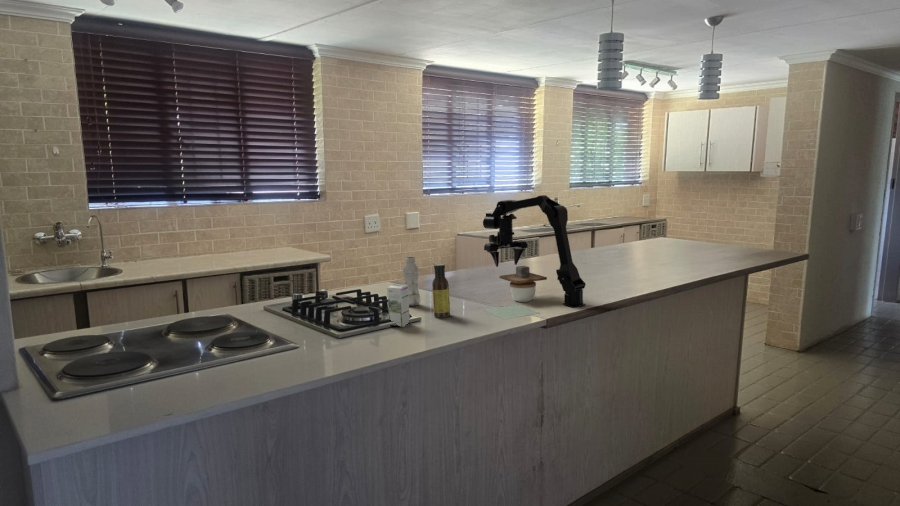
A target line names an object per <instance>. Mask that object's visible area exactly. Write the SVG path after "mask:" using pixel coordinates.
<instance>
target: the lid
mask: <svg viewBox="0 0 900 506" xmlns="http://www.w3.org/2000/svg"><path fill="white" fill-rule="evenodd" d="M499 279H500V280H504V281H507V282H509V283H510V282H514V283H517V284H518V283H526V282H533V281H534V282H539V281H546V280H548V277H547V276H543V275H540V274H536V273H532V272H530V266H527V265H519V266H515V273H511V274H504V275H499Z"/></svg>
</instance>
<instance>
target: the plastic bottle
mask: <svg viewBox="0 0 900 506" xmlns="http://www.w3.org/2000/svg"><path fill="white" fill-rule="evenodd" d="M419 272H420V269H419V266H417V264H416V258H415V256H406V258H405V264H404V267H403V268H402V273H403V281H404V285H408V294H409V307H414V306H415V307H416V306H418V305H420V303H421V295H420V291H419V290H420V289H419Z"/></svg>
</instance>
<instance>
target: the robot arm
mask: <svg viewBox="0 0 900 506" xmlns="http://www.w3.org/2000/svg"><path fill="white" fill-rule="evenodd" d="M532 207H539V208H540V210H541V211H542V213H544V215H546V218H547V221H548V223H549V225H550V226H551V228H552V229H553V233H554V237H555V244H556V248H557V254H558V259H559V263H560V264H559V268H557V269H556V271H555V272H556V275H557V281H559V282H558V283H560V285H561V287H562V291H563V292H565V293H564V294H563V295H564V301H563V303H562V305H564V306H567V307H570V308H576V307H577V306H578V307H583V306H586V303H584V297H583V296H584V292H583V291H584V289H585V287H586V282H585V281H584V280H583V279H582V277H581V276H580V272H579V271H578V268H577V266H576V265H575V263H574V261H573V257H572V252H571V246H570V242H569V236H568V230H567V223H568V220H569V219H568V218H569V217H568V213H569V212H568V209H567V207H566V206H564V205H561V204H560V203H559V202H556V201H555V200H554V199H551V198H550V197H548V196H547V195H545V194H542V195H538V196H534V197H528V198H523V199H518V200H517V199H506V200H503V199H502V200H499V201H497V203H496V207H495V208H494V210H493V212H492V213H491V212H488V213H486V212H485V216H484V217H483V220H482V226H483V228H484V229H487V230H488V229H489V230H498V231H497V235H495V234H490V235H488V241H489V243H485V244H484V245H483V250H484V251H486V252H487V253H489V254H490V255H491V258H492V259H493V262H494V265H495V267H496V268H498V267H499V261H500V251H498V250H500V249H510V248H512V250H513V252H514V253H513V254H514V255H513V257H514V260H513V261H514V265H515V266H517V264H518V263H519V260H520V258H521V256H522V254H523V252H524V251H526V249H528V247H529V244H528V242H527V240H513V237H514V236H515V232H514V231H513V228H514V227H513V221H514V220H517V219H518V218H517V216H516V215H514V213H515V212H517V211H518V210H521V209H526V208H532Z"/></svg>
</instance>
